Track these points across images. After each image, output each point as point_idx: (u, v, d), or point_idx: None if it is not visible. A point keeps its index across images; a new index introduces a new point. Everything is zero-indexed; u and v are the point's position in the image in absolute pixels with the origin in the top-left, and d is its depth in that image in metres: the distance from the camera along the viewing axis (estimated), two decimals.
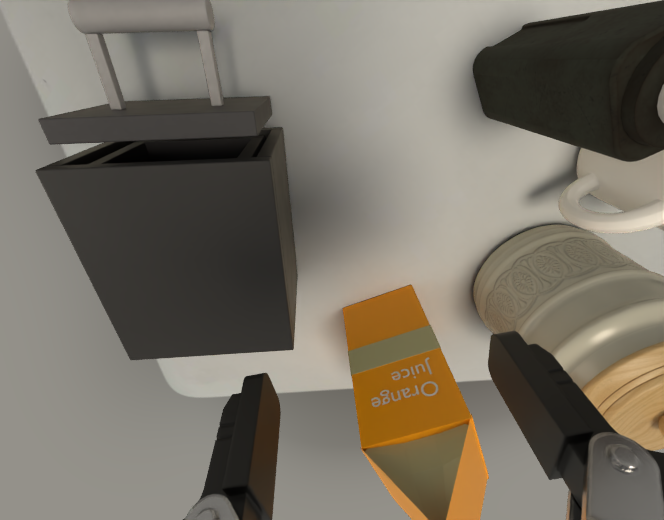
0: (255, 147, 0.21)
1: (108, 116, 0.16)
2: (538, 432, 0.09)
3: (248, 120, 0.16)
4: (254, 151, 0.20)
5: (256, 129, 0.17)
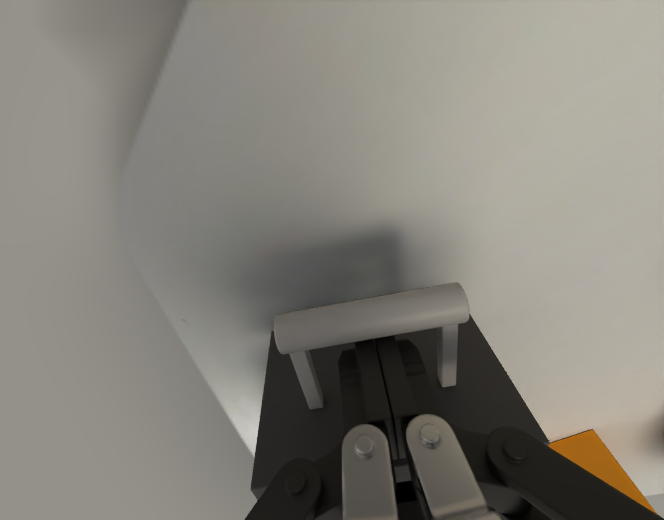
0: None
1: None
2: (391, 416, 0.10)
3: None
4: None
5: None
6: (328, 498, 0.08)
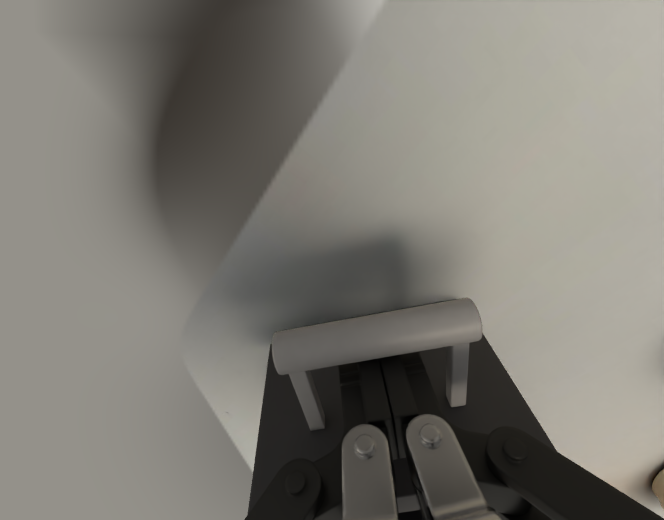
0: None
1: None
2: (391, 416, 0.10)
3: None
4: None
5: None
6: (328, 498, 0.08)
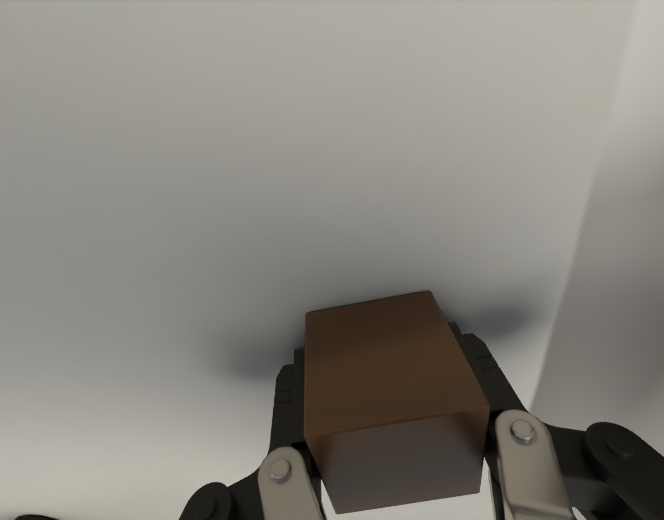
0: None
1: None
2: None
3: None
4: None
5: None
6: (242, 510, 0.08)
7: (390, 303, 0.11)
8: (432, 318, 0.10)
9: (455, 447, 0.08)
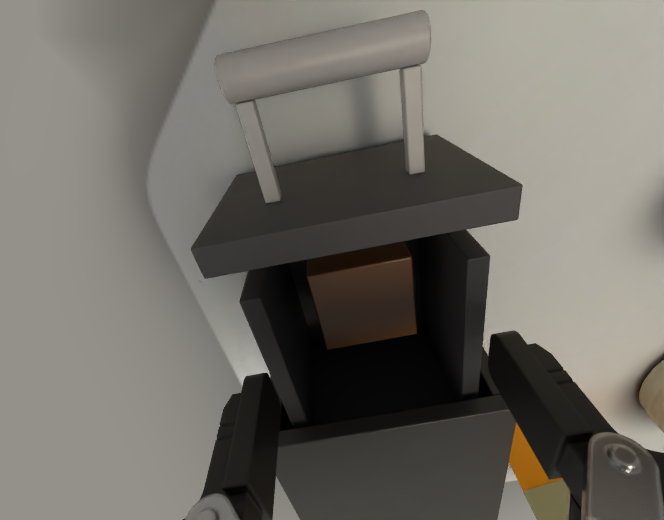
0: None
1: (291, 227, 0.10)
2: (538, 432, 0.09)
3: (510, 199, 0.10)
4: None
5: (517, 209, 0.10)
6: None
7: None
8: None
9: (395, 290, 0.14)
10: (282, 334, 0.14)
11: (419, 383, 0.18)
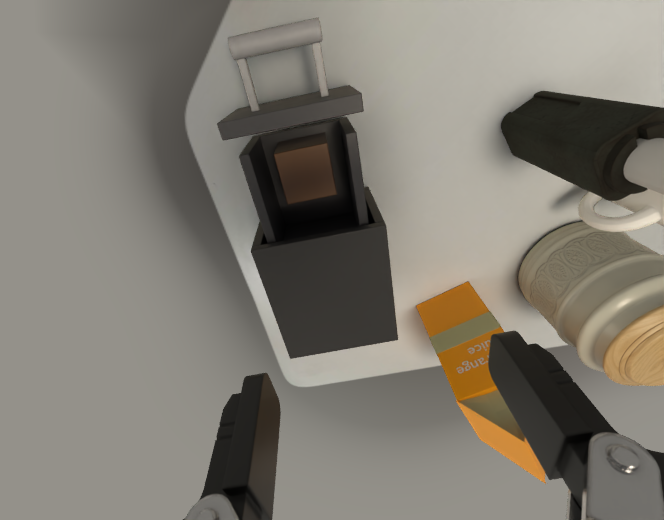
0: (350, 124, 0.27)
1: (262, 114, 0.23)
2: (538, 432, 0.09)
3: (357, 100, 0.23)
4: None
5: (362, 106, 0.23)
6: None
7: (309, 136, 0.30)
8: (321, 135, 0.29)
9: (321, 163, 0.27)
10: (261, 185, 0.27)
11: None
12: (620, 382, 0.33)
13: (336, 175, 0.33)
